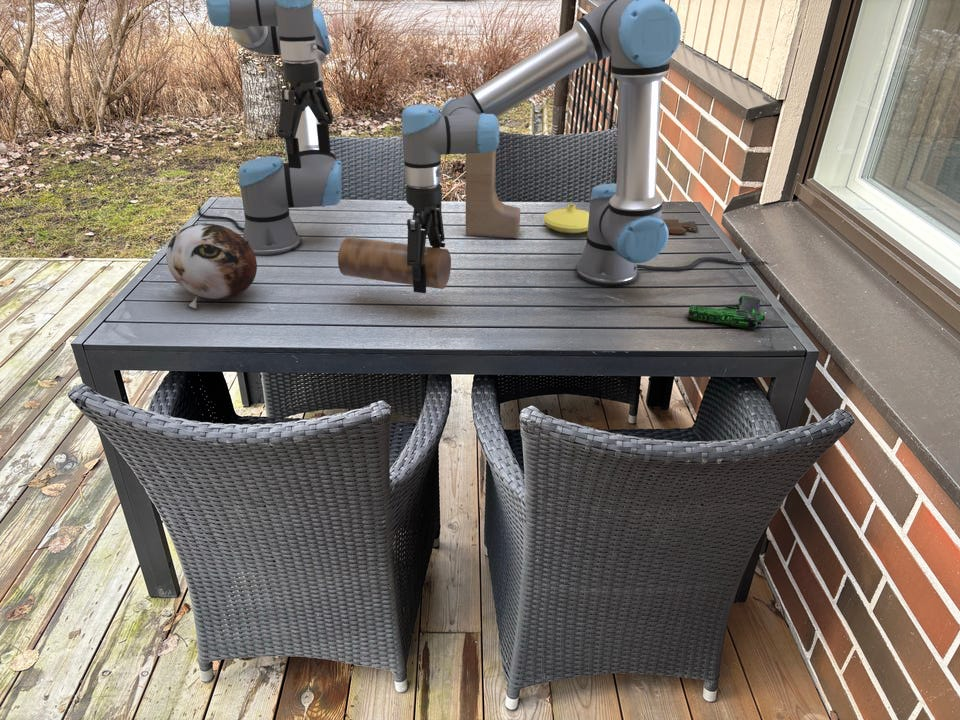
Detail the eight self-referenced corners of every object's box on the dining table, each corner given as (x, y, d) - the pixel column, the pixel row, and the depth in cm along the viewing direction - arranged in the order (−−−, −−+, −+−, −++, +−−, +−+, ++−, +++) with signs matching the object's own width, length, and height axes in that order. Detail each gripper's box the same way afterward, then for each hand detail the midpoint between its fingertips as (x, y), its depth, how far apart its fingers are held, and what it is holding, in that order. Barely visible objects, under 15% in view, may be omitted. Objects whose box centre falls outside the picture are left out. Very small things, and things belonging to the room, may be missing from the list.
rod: (340, 281, 162) (335, 245, 158) (357, 266, 169) (354, 231, 165) (437, 295, 156) (436, 257, 151) (451, 279, 163) (450, 243, 158)
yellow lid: (559, 216, 220) (561, 193, 217) (605, 227, 212) (608, 204, 209) (532, 230, 209) (533, 207, 206) (580, 242, 201) (582, 218, 198)
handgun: (768, 297, 166) (764, 322, 154) (765, 309, 168) (761, 335, 156) (697, 286, 172) (687, 310, 159) (695, 297, 173) (685, 322, 161)
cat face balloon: (130, 285, 161) (164, 203, 163) (192, 308, 177) (221, 233, 178) (195, 307, 151) (229, 220, 152) (254, 330, 166) (285, 250, 168)
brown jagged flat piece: (700, 236, 208) (693, 224, 217) (701, 230, 207) (694, 219, 216) (612, 233, 208) (607, 221, 217) (613, 227, 207) (608, 216, 216)
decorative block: (517, 239, 203) (521, 131, 188) (465, 235, 205) (465, 128, 189) (519, 230, 209) (524, 124, 194) (469, 226, 211) (469, 122, 196)
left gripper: (284, 71, 143) (296, 176, 154) (342, 54, 163) (350, 148, 174) (251, 68, 145) (266, 172, 156) (313, 52, 165) (322, 145, 176)
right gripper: (420, 202, 139) (425, 306, 150) (458, 171, 156) (459, 266, 168) (385, 198, 141) (392, 301, 152) (426, 168, 158) (430, 262, 170)
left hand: (310, 160), depth 165 cm, fingers open, 13 cm apart
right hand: (428, 283), depth 160 cm, fingers closed on rod, 9 cm apart
